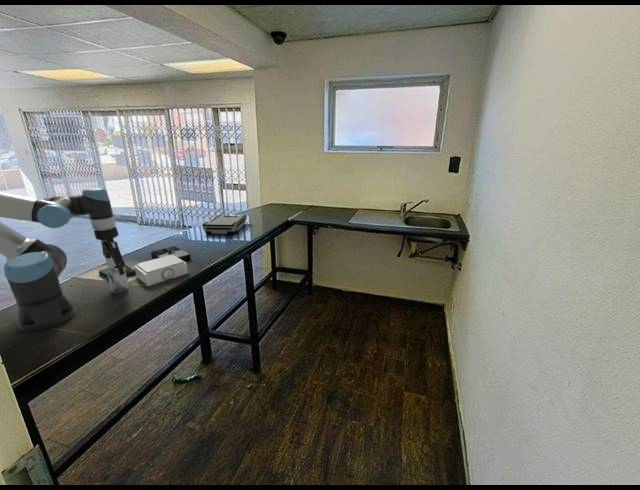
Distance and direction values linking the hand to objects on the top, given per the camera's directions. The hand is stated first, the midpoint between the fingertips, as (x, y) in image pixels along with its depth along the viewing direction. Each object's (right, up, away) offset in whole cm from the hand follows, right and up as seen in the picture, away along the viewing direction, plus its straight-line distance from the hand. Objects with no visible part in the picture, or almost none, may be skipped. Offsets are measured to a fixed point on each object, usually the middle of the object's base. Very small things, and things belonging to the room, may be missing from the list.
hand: (118, 276), depth 123 cm
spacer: (0, -6, +2) cm, 6 cm away
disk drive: (-11, -2, +16) cm, 20 cm away
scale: (+10, -1, +16) cm, 19 cm away
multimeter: (+4, +5, +35) cm, 36 cm away
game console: (+18, +24, +88) cm, 93 cm away
